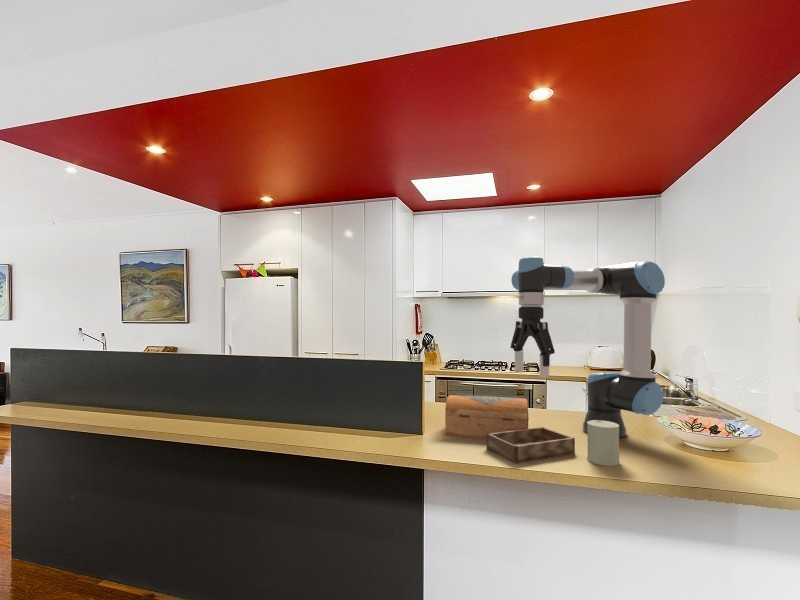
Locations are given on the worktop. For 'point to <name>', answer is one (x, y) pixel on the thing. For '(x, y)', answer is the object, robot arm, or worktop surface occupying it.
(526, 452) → the crate
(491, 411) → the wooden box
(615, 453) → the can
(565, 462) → the worktop surface
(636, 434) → the worktop surface
